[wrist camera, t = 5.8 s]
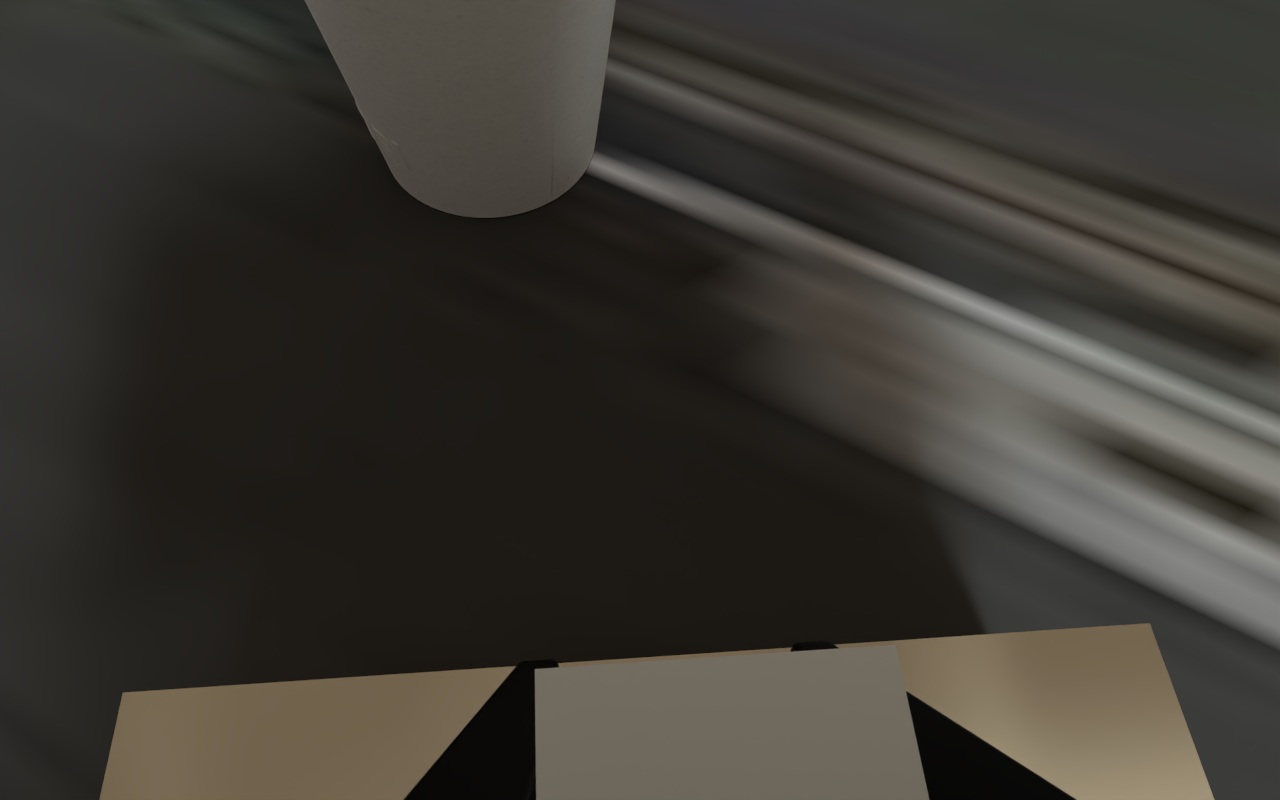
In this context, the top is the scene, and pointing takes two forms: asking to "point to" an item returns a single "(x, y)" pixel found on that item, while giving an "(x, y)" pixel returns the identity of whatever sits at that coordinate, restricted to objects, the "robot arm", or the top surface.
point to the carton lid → (690, 724)
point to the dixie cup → (475, 93)
